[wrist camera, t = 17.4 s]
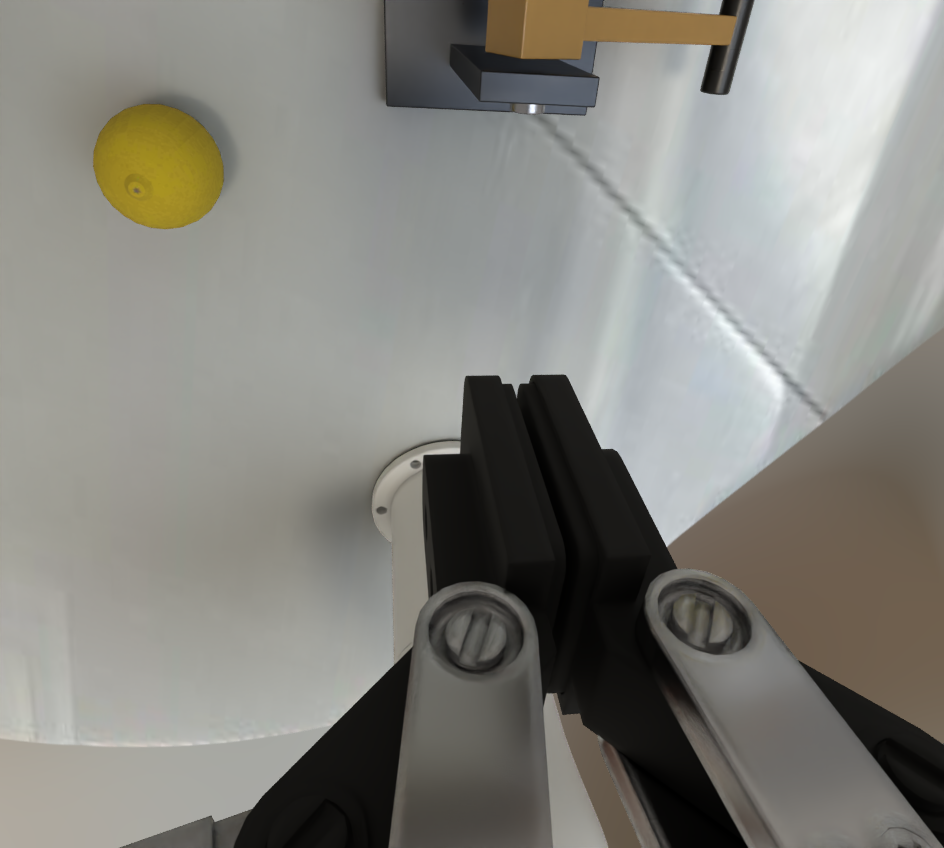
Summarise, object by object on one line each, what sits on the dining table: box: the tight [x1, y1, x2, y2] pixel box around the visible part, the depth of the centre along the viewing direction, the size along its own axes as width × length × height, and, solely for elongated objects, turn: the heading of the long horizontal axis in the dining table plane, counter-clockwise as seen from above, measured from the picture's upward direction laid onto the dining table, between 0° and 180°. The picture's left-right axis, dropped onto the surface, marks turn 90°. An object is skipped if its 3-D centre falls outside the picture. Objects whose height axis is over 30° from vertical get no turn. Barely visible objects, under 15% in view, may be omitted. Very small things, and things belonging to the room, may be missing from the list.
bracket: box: [384, 0, 604, 116], centre depth 26 cm, size 11×9×13 cm
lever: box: [485, 0, 754, 95], centre depth 24 cm, size 13×5×2 cm, turn 87°
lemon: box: [93, 104, 224, 229], centre depth 30 cm, size 6×6×8 cm
